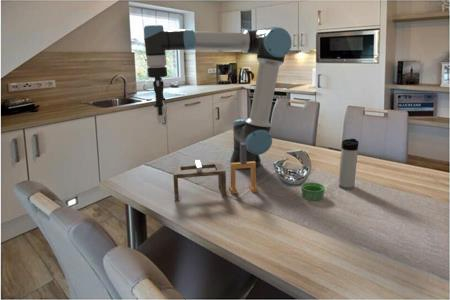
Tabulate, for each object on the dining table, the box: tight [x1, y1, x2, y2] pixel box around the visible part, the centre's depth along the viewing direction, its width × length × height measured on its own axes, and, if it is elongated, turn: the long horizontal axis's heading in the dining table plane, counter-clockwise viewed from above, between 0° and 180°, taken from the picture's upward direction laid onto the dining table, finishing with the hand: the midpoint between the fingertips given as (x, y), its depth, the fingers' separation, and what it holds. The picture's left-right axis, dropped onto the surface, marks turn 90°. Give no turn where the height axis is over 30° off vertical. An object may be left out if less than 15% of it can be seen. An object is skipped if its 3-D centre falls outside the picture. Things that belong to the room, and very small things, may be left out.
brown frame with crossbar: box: [172, 162, 227, 202], centre depth 140 cm, size 20×10×11 cm, turn 99°
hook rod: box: [194, 159, 203, 172], centre depth 138 cm, size 2×8×2 cm, turn 9°
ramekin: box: [300, 181, 326, 202], centre depth 137 cm, size 9×9×4 cm
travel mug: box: [338, 138, 359, 190], centre depth 144 cm, size 6×7×20 cm
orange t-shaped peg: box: [228, 143, 258, 195], centre depth 142 cm, size 11×5×20 cm, turn 99°
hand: (161, 119), depth 144 cm, fingers open, 13 cm apart
